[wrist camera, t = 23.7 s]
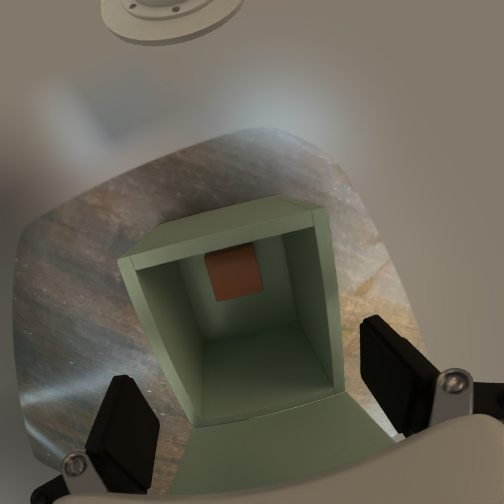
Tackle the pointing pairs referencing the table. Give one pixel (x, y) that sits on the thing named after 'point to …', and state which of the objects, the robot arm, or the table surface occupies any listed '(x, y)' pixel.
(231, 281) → the block
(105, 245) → the table surface
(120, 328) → the table surface
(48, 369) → the table surface
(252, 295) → the green box
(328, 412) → the box lid
